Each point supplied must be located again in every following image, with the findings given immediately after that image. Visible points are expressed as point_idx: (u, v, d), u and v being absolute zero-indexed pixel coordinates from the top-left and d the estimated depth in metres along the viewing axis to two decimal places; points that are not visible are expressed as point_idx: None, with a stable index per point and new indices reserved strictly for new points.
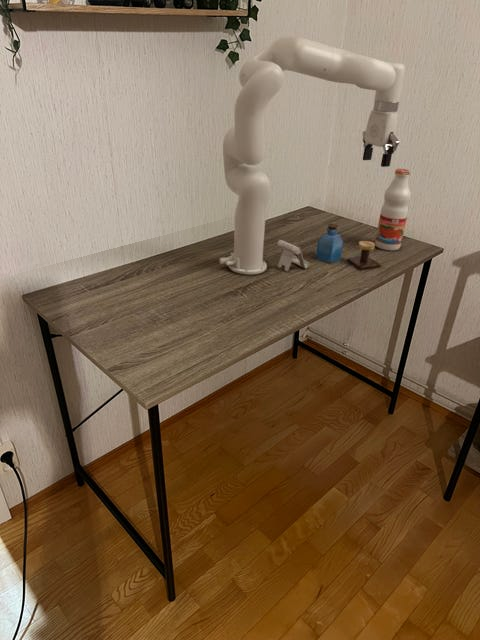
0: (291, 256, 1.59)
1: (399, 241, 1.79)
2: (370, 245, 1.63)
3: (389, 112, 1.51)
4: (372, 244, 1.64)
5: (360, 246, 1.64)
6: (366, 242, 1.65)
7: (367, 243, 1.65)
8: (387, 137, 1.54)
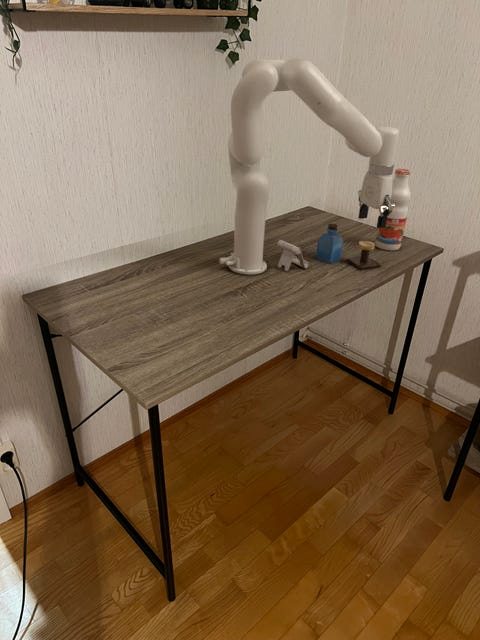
0: (291, 256, 1.59)
1: (399, 241, 1.79)
2: (370, 245, 1.63)
3: (384, 176, 1.50)
4: (372, 244, 1.64)
5: (360, 246, 1.64)
6: (366, 242, 1.65)
7: (367, 243, 1.65)
8: (382, 200, 1.52)
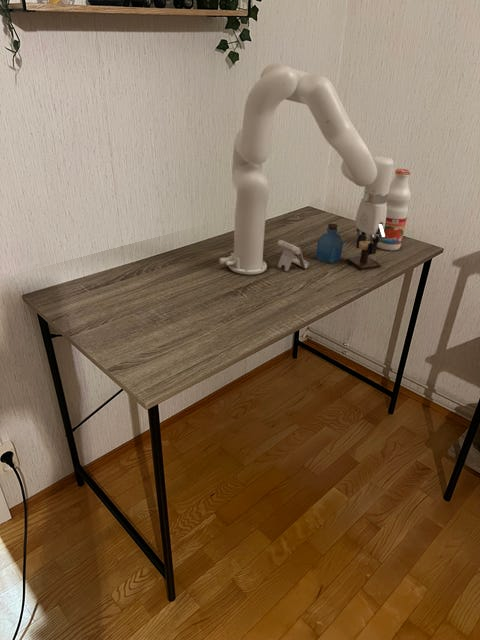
0: (291, 256, 1.59)
1: (399, 241, 1.79)
2: None
3: (378, 204, 1.54)
4: None
5: (360, 246, 1.64)
6: (366, 242, 1.65)
7: (367, 243, 1.65)
8: (377, 227, 1.56)
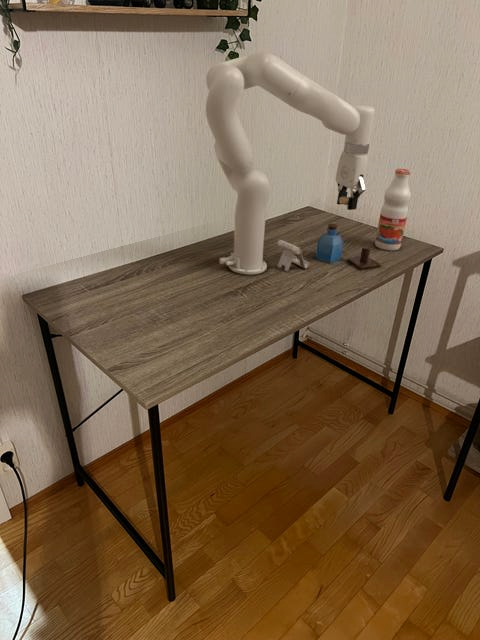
0: (291, 256, 1.59)
1: (399, 241, 1.79)
2: None
3: (359, 155, 1.49)
4: None
5: (340, 201, 1.59)
6: (347, 197, 1.60)
7: (348, 198, 1.60)
8: (357, 179, 1.51)
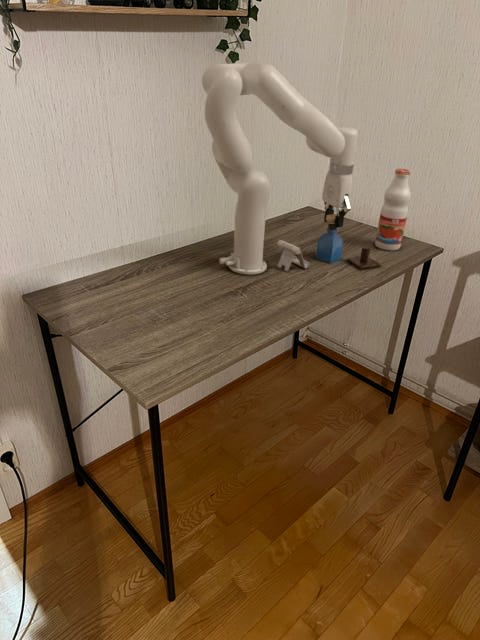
0: (291, 256, 1.59)
1: (399, 241, 1.79)
2: None
3: (343, 175, 1.53)
4: None
5: (327, 219, 1.63)
6: (334, 215, 1.65)
7: None
8: (342, 199, 1.55)
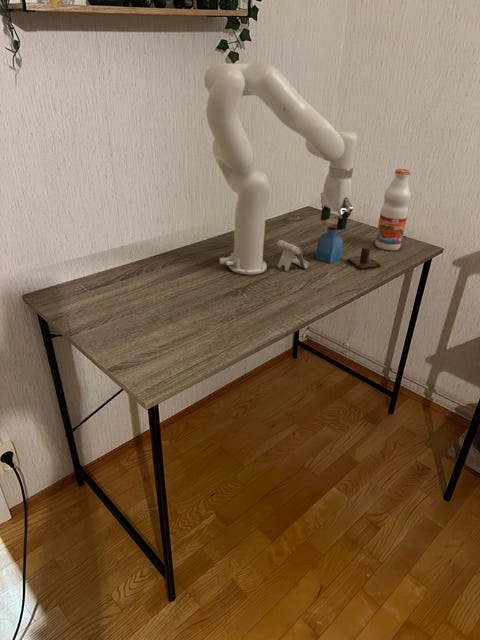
0: (291, 256, 1.59)
1: (399, 241, 1.79)
2: (337, 222, 1.63)
3: (343, 179, 1.54)
4: None
5: (327, 223, 1.64)
6: (333, 220, 1.65)
7: (334, 220, 1.65)
8: (341, 202, 1.56)
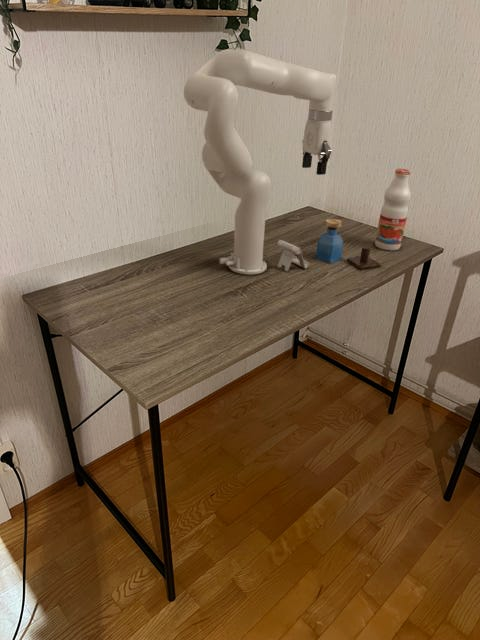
0: (291, 256, 1.59)
1: (399, 241, 1.79)
2: (337, 222, 1.63)
3: (322, 121, 1.53)
4: (339, 222, 1.64)
5: (327, 223, 1.64)
6: (333, 220, 1.65)
7: (334, 220, 1.65)
8: (321, 145, 1.56)
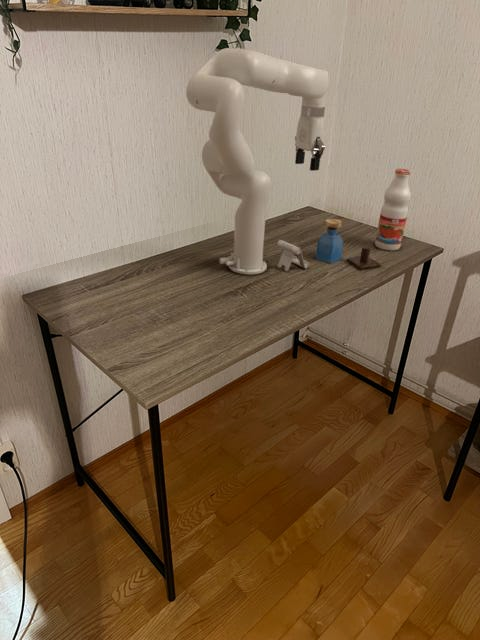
0: (291, 256, 1.59)
1: (399, 241, 1.79)
2: (337, 222, 1.63)
3: (315, 117, 1.55)
4: (339, 222, 1.64)
5: (327, 223, 1.64)
6: (333, 220, 1.65)
7: (334, 220, 1.65)
8: (314, 142, 1.58)
